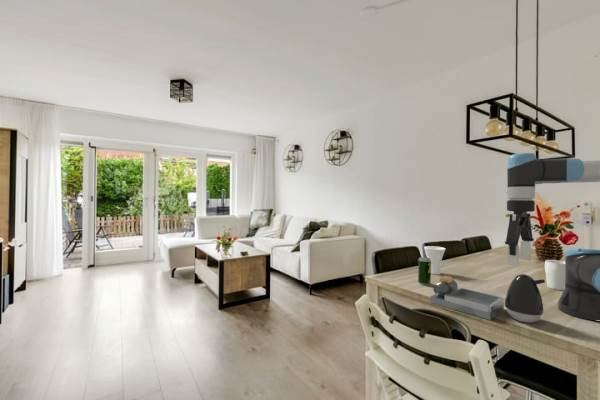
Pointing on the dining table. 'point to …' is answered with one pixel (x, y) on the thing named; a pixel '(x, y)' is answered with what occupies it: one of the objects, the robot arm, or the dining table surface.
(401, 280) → the dining table surface
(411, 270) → the dining table surface
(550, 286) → the cup
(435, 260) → the cup
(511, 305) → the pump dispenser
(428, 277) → the green soda can
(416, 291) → the dining table surface
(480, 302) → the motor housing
